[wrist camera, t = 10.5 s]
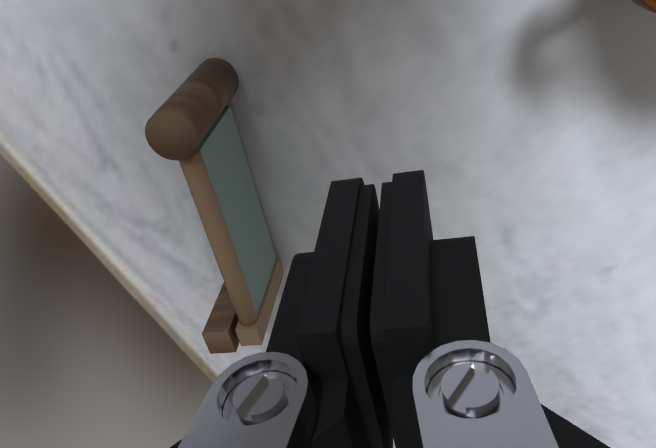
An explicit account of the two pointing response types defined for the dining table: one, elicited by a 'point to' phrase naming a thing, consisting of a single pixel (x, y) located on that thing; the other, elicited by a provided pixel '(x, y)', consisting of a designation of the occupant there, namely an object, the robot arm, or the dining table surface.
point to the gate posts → (180, 142)
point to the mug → (647, 4)
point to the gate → (235, 225)
